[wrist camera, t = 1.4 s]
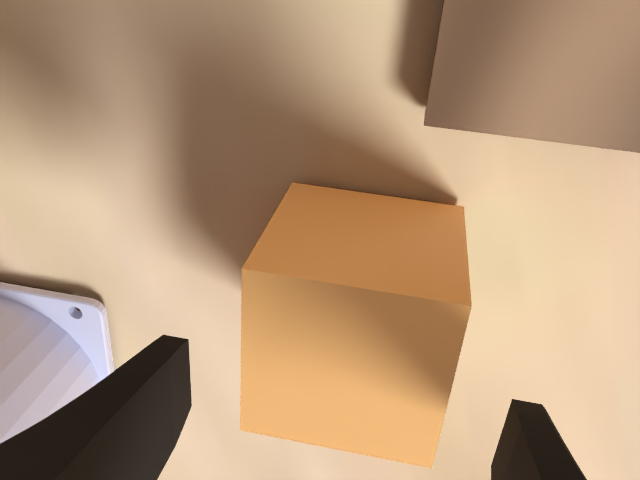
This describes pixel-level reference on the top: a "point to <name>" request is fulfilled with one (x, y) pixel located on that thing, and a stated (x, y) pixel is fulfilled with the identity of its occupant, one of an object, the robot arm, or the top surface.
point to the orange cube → (354, 322)
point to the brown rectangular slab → (539, 71)
